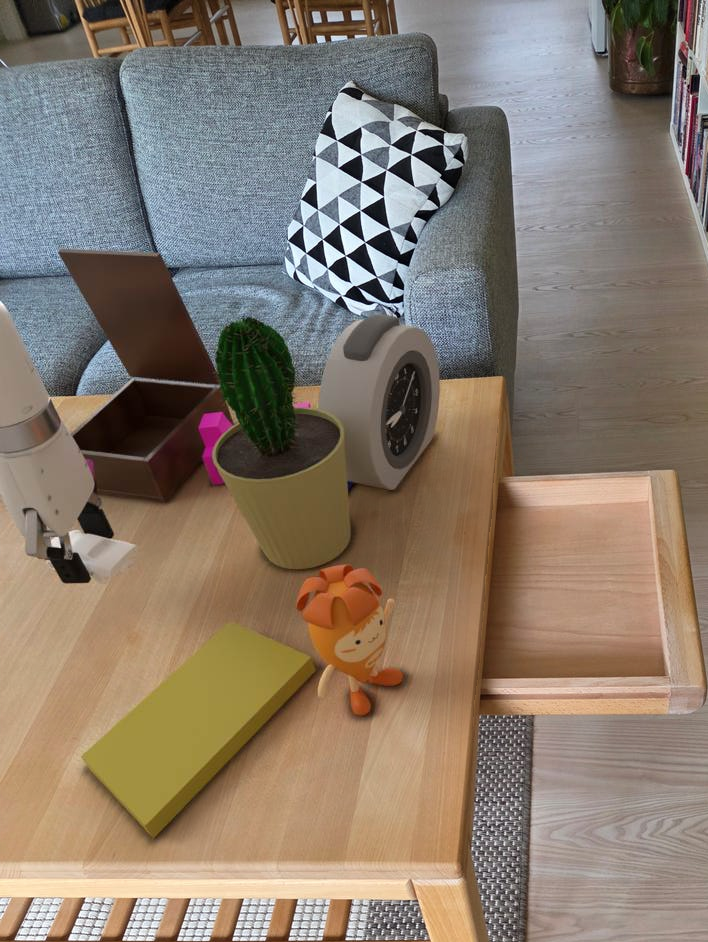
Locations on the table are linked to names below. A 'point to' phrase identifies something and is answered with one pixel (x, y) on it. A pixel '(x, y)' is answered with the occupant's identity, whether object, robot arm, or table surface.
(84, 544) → the toy car
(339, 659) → the toy figure
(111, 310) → the lid
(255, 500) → the potted cactus
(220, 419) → the toy block
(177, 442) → the chest
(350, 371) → the alarm clock
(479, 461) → the table surface
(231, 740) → the flat olive board
